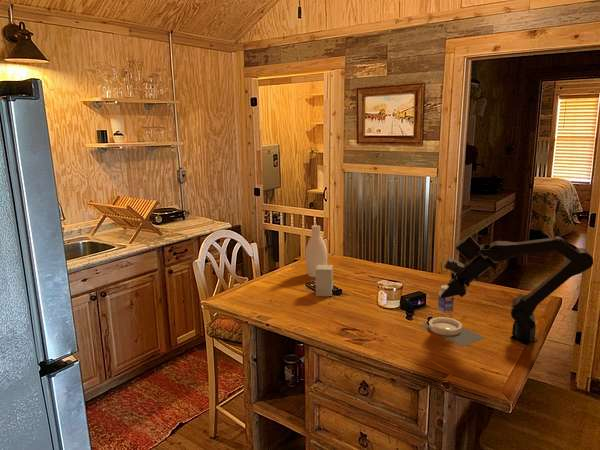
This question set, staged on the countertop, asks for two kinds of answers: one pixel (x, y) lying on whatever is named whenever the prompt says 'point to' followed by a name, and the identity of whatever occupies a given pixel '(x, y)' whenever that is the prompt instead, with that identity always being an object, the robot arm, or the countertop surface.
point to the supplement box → (324, 280)
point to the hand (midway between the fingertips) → (442, 294)
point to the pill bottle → (445, 302)
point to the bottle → (315, 251)
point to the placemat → (460, 336)
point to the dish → (445, 326)
